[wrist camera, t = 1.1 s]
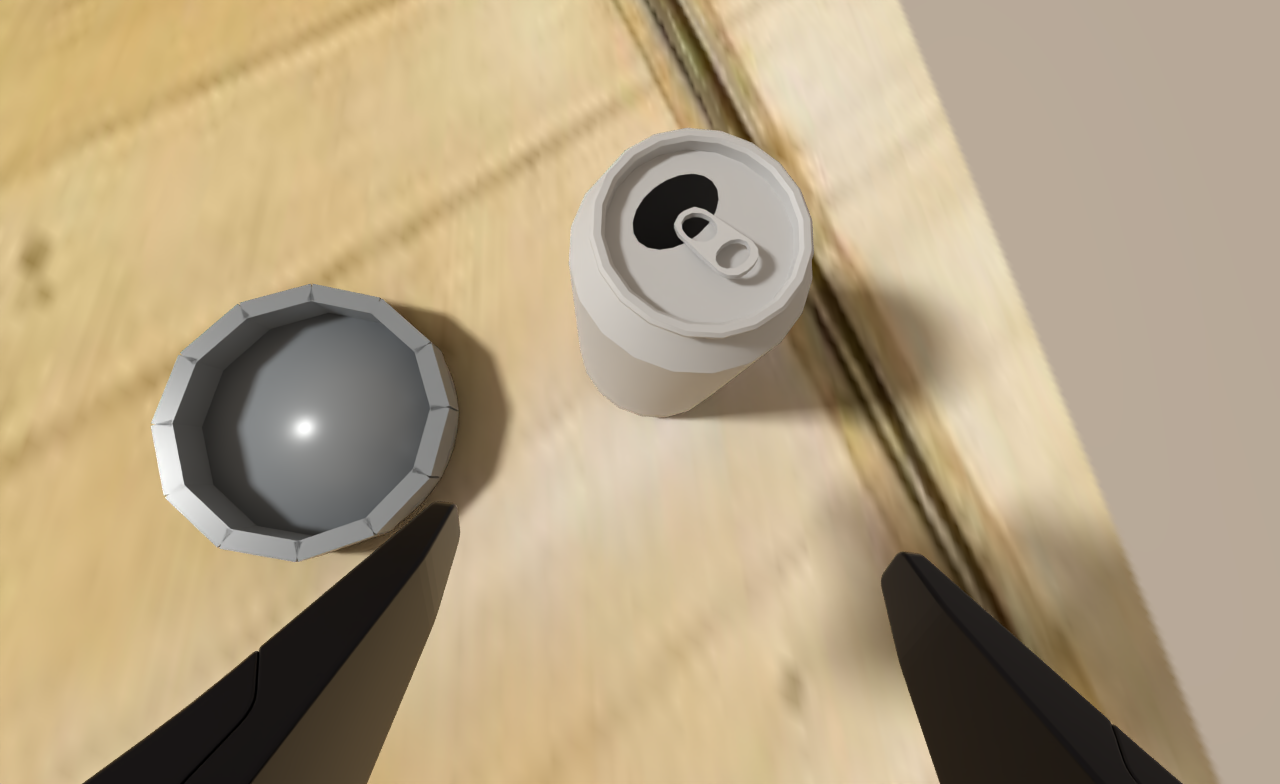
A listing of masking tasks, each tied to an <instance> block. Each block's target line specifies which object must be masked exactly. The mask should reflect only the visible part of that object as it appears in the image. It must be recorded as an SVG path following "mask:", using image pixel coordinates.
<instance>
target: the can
mask: <svg viewBox="0 0 1280 784" xmlns="http://www.w3.org/2000/svg"><path fill="white" fill-rule="evenodd" d="M813 253H814V248H813V226H812V219H811V216H810V213H809V211H808V208H807V205H806V203H805V200H804V197H803V195H802V192H801V190H800V188H799V187H798V186H797V184H796V183H795V182H794V181H793V179H792V178H791V177H790V175H789V174H788V173H787V172H786V170H785V169H784V168H783V166H782V165H781V164H780V163H779V162H778V161H776V160H775V159H774V158H772V157H771V156H770V155H768V154H767V153H765V152H764V151H763V150H761V149H760V148H759V147H757V146H756V145H755V144H753V143H751V142H748V141H746V140H743V139H741V138H738V137H735V136H733V135H730V134H727V133H725V132H722V131H716V130H705V129H694V128H684V129H679V130H674V131H669V132H664V133H659V134H654V135H652V136H650V137H649V138H647V139H645V140H643V141H641V142H639V143H638V144H636V145H634V146H632V147H630V148H628V149H626V150H625V151H624V152H623V153H622V154H621V156H620V157H619V158H618V159H617V160H616V161H615V162H614V163H613V164H612V165H611V166H610V167H609V169H608V170H607V171H606V172H605V173H604V174H603V175H602V176H601V177H600V179H599V180H598V181H597V182H596V183H595V184H594V185H593V186H592V187H591V188H590V189H589V190H588V192H587V193H586V194H585V196H584V198H583V200H582V203H581V205H580V207H579V210H578V212H577V214H576V217H575V219H574V221H573V224H572V226H571V237H570V254H569V268H570V275H571V283H572V291H573V298H574V306H575V314H576V321H577V329H578V337H579V344H580V351H581V355H582V358H583V362H584V366H585V369H586V373H587V374H588V376H589V377H590V379H591V380H592V382H593V383H594V385H595V386H596V388H597V389H598V391H599V392H600V393H601V394H602V395H603V396H605V397H606V398H607V399H608V400H610V401H611V402H612V403H614V404H615V405H616V406H617V407H619V408H621V409H624V410H626V411H629V412H632V413H635V414H637V415H640V416H649V417H669V416H672V415H676V414H679V413H683V412H686V411H689V410H691V409H692V408H694V407H695V406H697V405H698V404H700V403H701V402H702V401H704V400H705V399H707V398H708V397H710V396H711V395H712V394H714V393H715V392H716V391H717V390H719V389H720V388H721V387H723V386H724V385H725V384H727V383H728V382H729V381H731V380H732V379H733V378H735V377H736V376H737V375H738V374H740V373H741V372H742V371H744V370H745V369H746V368H748V367H749V366H750V365H752V364H753V363H754V362H756V361H757V360H758V359H759V358H761V357H762V356H763V355H765V354H766V353H767V352H769V351H770V350H771V349H773V348H774V347H775V346H777V345H778V344H779V343H780V342H781V341H782V340H783V339H784V337H785V336H786V335H787V333H788V332H789V330H790V329H791V328H792V326H793V325H794V324H795V322H796V321H797V320H798V318H799V317H800V315H801V314H802V312H803V309H804V305H805V302H806V299H807V295H808V292H809V289H810V285H811V282H812V262H811V260H812V257H813Z"/></svg>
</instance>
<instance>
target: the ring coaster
mask: <svg viewBox="0 0 1280 784" xmlns="http://www.w3.org/2000/svg"><path fill="white" fill-rule="evenodd" d="M180 353H181V354H182V355H183V356H182V355H178V357H177V360H176V362H175V365H174V367H173V370H172V372H171V375H170V377H169V380H168V382H167V385H166V387H165V390H164V392H163V395H162V397H161V400H160V402H159V405H158V407H157V410H156V412H155V415H154V417H153V420H152V422H151V423H152V424H155V425H152V426H151V430H152V435H153V440H154V446H155V451H156V456H157V462H158V467H159V473H160V478H161V483H162V489H163V494H164V496H166V495H167V496H166V497H165V498H166V499H167V500H168V501H169V502H170V503H171V504H172V505H173V506H174V507H175V508H176V509H177V510H178V511H179V512H180V513H182V514H183V515H184V516H185V517H186V518H187V519H188V520H189V521H190V522H191V523H192V524H193V525H194V526H195V527H196V528H197V529H198V530H199V531H200V532H201V533H203V534H204V535H205V536H206V537H207V538H208V539H209V540H210V541H211V542H212V543H213V544H214V545H215V546H216V547H220V549H225V550H230V551H236V552H242V553H247V554H253V555H259V556H264V557H270V558H275V559H281V560H287V561H292V562H297V561H298V562H299V561H303V560H307V559H311V558H314V557H318V556H321V555H324V554H327V553H330V552H333V551H336V550H339V549H341V548H344V547H347V546H350V545H353V544H357V543H360V542H363V541H365V540H368V539H370V538H373V537H376V536H379V535H382V534H385V533H388V532H389V531H391V530H393V528H394V527H395V526H396V525H397V524H398V523H399V522H401V521H402V520H403V519H405V518H406V517H407V516H409V515H410V514H411V513H412V512H413V511H414V510H415V509H416V508H417V507H418V506H419V505H420V504H422V502H423V501H424V500H425V499H426V498H427V496H428V495H429V494H430V493H431V492H432V490H433V489H434V487H435V486H436V484H437V483H438V481H439V480H440V479H441V477H442V475H443V473H444V471H445V469H446V467H447V465H448V463H449V460H450V457H451V454H452V452H453V449H454V446H455V441H456V436H457V431H458V417H459V408H458V398H457V394H456V389H455V384H454V382H453V379H452V376H451V373H450V371H449V369H448V367H447V365H446V363H445V360H444V357H443V353H442V352H441V350H440V349H439V348H438V347H437V346H435V345H434V344H433V343H432V342H431V341H430V340H429V339H427V338H426V337H425V336H424V335H423V334H422V333H421V332H420V331H418V330H417V329H416V328H415V327H414V326H413V325H412V324H411V323H409V322H408V321H407V320H406V319H405V318H404V317H403V316H401V315H400V314H399V313H398V312H397V311H396V310H395V309H393V308H392V307H391V306H390V305H389V304H388V303H386V302H385V301H384V300H383V299H381V298H379V297H374V296H369V295H364V294H360V293H355V292H350V291H345V290H340V289H335V288H331V287H326V286H321V285H316V284H313V285H311V284H308V285H305V286H301V287H297V288H293V289H290V290H286V291H282V292H278V293H275V294H271V295H267V296H263V297H259V298H256V299H252V300H248V301H244V302H241V303H240V305H239V304H237V305H236V306H234V307H233V308H232V309H231V310H230V311H229V312H227V313H226V314H225V315H224V316H223V317H222V318H220V319H219V320H218V321H217V322H216V323H214V324H213V325H212V326H211V327H210V328H209V329H207V330H206V331H205V332H204V333H203V334H202V335H200V336H199V337H198V338H197V339H196V340H195V341H193V342H192V343H191V344H190V345H189V346H187V347H186V348H185V349H184V350H183V351H182V352H180Z"/></svg>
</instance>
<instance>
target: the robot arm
mask: <svg viewBox="0 0 1280 784" xmlns="http://www.w3.org/2000/svg"><path fill="white" fill-rule="evenodd" d="M459 537H460V526H459V516H458V508H457V505H456V504H454V503H449V502H439V501H437V502H434V503H432V504H431V505H429V506H428V507H427V508H426V509H425V510H423V511H422V512H421V513H420V514H419V515H417V516H416V517H415V518H414V519H413V520H411V521H410V522H409V523H408V524H407V525H405V526H404V527H403V528H402V529H401V530H399V531H398V532H397V533H396V534H395V535H393V536H392V537H391V538H390V539H389V540H387V541H386V542H385V543H384V544H383V545H381V546H380V547H379V548H378V549H377V550H375V551H374V552H373V553H372V554H371V555H370V556H368V557H367V558H366V559H365V560H364V561H362V562H361V563H360V564H359V565H358V566H356V567H355V568H354V569H353V570H352V571H350V572H349V573H348V574H347V575H346V576H344V577H343V578H342V579H341V580H340V581H338V582H337V583H336V584H335V585H334V586H332V587H331V588H330V589H329V590H328V591H326V592H325V593H324V594H323V595H322V596H320V597H319V598H318V599H317V600H316V601H315V602H313V603H312V604H311V605H310V606H309V607H307V608H306V609H305V610H304V611H303V612H301V613H300V614H299V615H298V616H297V617H295V618H294V619H293V620H292V621H291V622H289V623H288V624H287V625H286V626H285V627H283V628H282V629H281V630H280V631H279V632H277V633H276V634H275V635H274V636H273V637H271V638H270V639H269V640H268V641H267V642H265V643H264V644H263V645H262V646H261V647H260V649H259V652H258V651H255V652H253V653H252V654H251V655H250V656H248V657H247V658H246V659H245V660H244V661H242V662H241V663H240V664H239V665H238V666H236V667H235V668H234V669H233V670H232V671H231V672H229V673H228V674H227V675H226V676H224V677H223V678H222V679H221V680H219V681H218V682H217V683H216V684H214V685H213V686H212V687H211V688H209V689H208V690H207V691H206V692H204V693H203V694H202V695H201V696H199V697H198V698H197V699H196V700H195V701H193V702H192V703H191V704H189V705H188V706H187V707H185V708H184V709H183V710H181V711H180V712H179V713H177V714H176V715H175V716H173V717H172V718H171V719H170V720H168V721H167V722H166V723H164V724H163V725H162V726H160V727H159V728H158V729H156V730H155V731H154V732H152V733H151V734H150V735H148V736H147V737H146V738H144V739H143V740H142V741H140V742H139V743H137V744H136V745H135V746H133V747H132V748H131V749H129V750H128V751H126V752H125V753H124V754H122V755H121V756H120V757H118V758H117V759H115V760H114V761H113V762H111V763H110V764H109V765H107V766H106V767H104V768H103V769H102V770H100V771H99V772H98V773H96V774H95V775H94V776H92V777H91V778H89V779H88V780H87V781H85V782H84V783H83V784H367V782H368V780H369V777H370V775H371V773H372V770H373V768H374V765H375V763H376V761H377V758H378V756H379V753H380V751H381V749H382V746H383V744H384V742H385V739H386V737H387V734H388V732H389V730H390V727H391V725H392V723H393V720H394V718H395V715H396V713H397V711H398V708H399V706H400V703H401V701H402V699H403V696H404V694H405V692H406V689H407V687H408V684H409V682H410V680H411V677H412V675H413V672H414V670H415V668H416V665H417V663H418V661H419V658H420V656H421V653H422V651H423V649H424V646H425V644H426V641H427V639H428V637H429V634H430V632H431V629H432V627H433V624H434V622H435V619H436V616H437V613H438V610H439V607H440V603H441V600H442V597H443V593H444V590H445V586H446V583H447V580H448V576H449V573H450V570H451V566H452V563H453V559H454V556H455V553H456V549H457V546H458V542H459ZM881 587H882V591H883V596H884V600H885V604H886V609H887V613H888V617H889V622H890V626H891V630H892V635H893V639H894V643H895V647H896V651H897V655H898V659H899V662H900V666H901V669H902V672H903V675H904V678H905V681H906V684H907V687H908V690H909V693H910V696H911V699H912V702H913V705H914V708H915V711H916V714H917V717H918V720H919V723H920V726H921V729H922V732H923V735H924V738H925V741H926V744H927V747H928V750H929V753H930V756H931V759H932V762H933V765H934V767H935V770H936V773H937V776H938V779H939V782H940V784H1182V783H1181V782H1180V781H1179V780H1177V779H1176V778H1175V777H1174V776H1173V775H1172V774H1170V773H1169V772H1168V771H1167V770H1166V769H1165V768H1163V767H1162V766H1161V765H1160V764H1159V763H1158V762H1156V761H1155V760H1154V759H1153V758H1152V757H1151V756H1150V755H1148V754H1147V753H1146V752H1145V751H1144V750H1143V749H1141V748H1140V747H1139V746H1138V745H1137V744H1136V743H1135V742H1133V741H1132V740H1131V739H1130V738H1129V737H1128V736H1127V735H1126V734H1124V733H1123V732H1122V731H1121V730H1120V729H1119V728H1118V727H1117V726H1115V725H1111V722H1110V721H1109V720H1108V719H1107V718H1106V717H1105V716H1104V715H1103V714H1102V713H1101V712H1099V711H1098V710H1097V709H1096V708H1095V707H1094V706H1093V705H1092V704H1090V703H1089V702H1088V701H1087V700H1086V699H1085V698H1084V697H1082V696H1081V695H1080V694H1079V693H1078V692H1077V691H1076V690H1075V689H1073V688H1072V687H1071V686H1070V685H1069V684H1068V683H1067V682H1065V681H1064V680H1063V679H1062V678H1061V677H1060V676H1059V675H1058V674H1056V673H1055V672H1054V671H1053V670H1052V669H1051V668H1050V667H1049V666H1047V665H1046V664H1045V663H1044V662H1043V661H1042V660H1041V659H1039V658H1038V657H1037V656H1036V655H1035V654H1034V653H1033V652H1032V651H1030V650H1029V649H1028V648H1027V647H1026V646H1025V645H1024V644H1023V643H1021V642H1020V641H1019V640H1018V639H1017V638H1016V637H1015V636H1013V635H1012V634H1011V633H1010V632H1009V631H1008V630H1007V629H1006V628H1004V627H1003V626H1002V625H1001V624H1000V623H999V622H998V621H996V620H995V619H994V618H993V617H992V616H991V615H990V614H989V613H987V612H986V611H985V610H984V609H983V608H982V607H981V606H980V605H978V604H977V603H976V602H975V601H974V600H973V599H972V598H970V597H969V596H968V595H967V594H966V593H965V592H964V591H963V590H961V589H960V588H959V587H958V586H957V585H956V584H955V583H954V582H952V581H951V580H950V579H949V578H948V577H947V576H946V575H944V574H943V573H942V572H941V571H940V570H939V569H938V568H937V567H935V566H934V565H933V564H932V563H931V562H930V561H929V560H927V559H926V558H925V557H924V556H923V555H921V554H918V553H911V552H899V553H898V554H897V555H896V556H895V557H894V559H893V560H892V562H891V563H890V564H889V566H888V567H887V569H886V570H885V572H884V573H883V575H882V578H881Z"/></svg>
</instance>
